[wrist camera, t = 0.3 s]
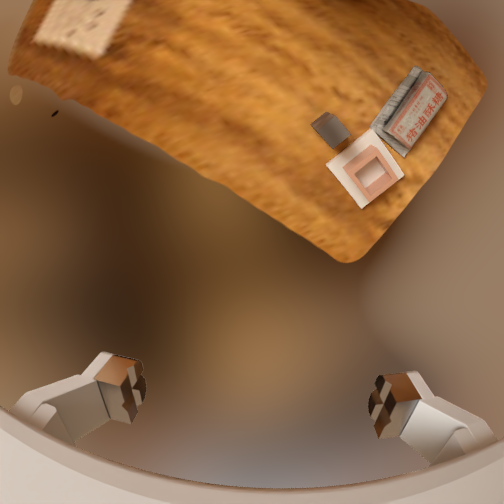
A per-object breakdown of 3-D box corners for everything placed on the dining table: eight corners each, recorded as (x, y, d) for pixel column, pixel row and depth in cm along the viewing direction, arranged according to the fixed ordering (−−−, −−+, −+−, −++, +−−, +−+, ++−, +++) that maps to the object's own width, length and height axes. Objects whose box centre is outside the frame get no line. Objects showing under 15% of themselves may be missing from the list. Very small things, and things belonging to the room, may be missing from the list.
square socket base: (370, 128, 48) (379, 132, 44) (402, 173, 52) (412, 181, 48) (325, 164, 53) (330, 171, 49) (359, 206, 57) (366, 217, 53)
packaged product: (424, 63, 36) (457, 98, 38) (413, 63, 40) (445, 96, 42) (375, 130, 44) (411, 163, 47) (367, 126, 49) (401, 156, 51)
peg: (326, 111, 48) (335, 115, 40) (339, 127, 49) (350, 134, 41) (310, 124, 49) (317, 130, 42) (324, 139, 51) (332, 149, 43)
